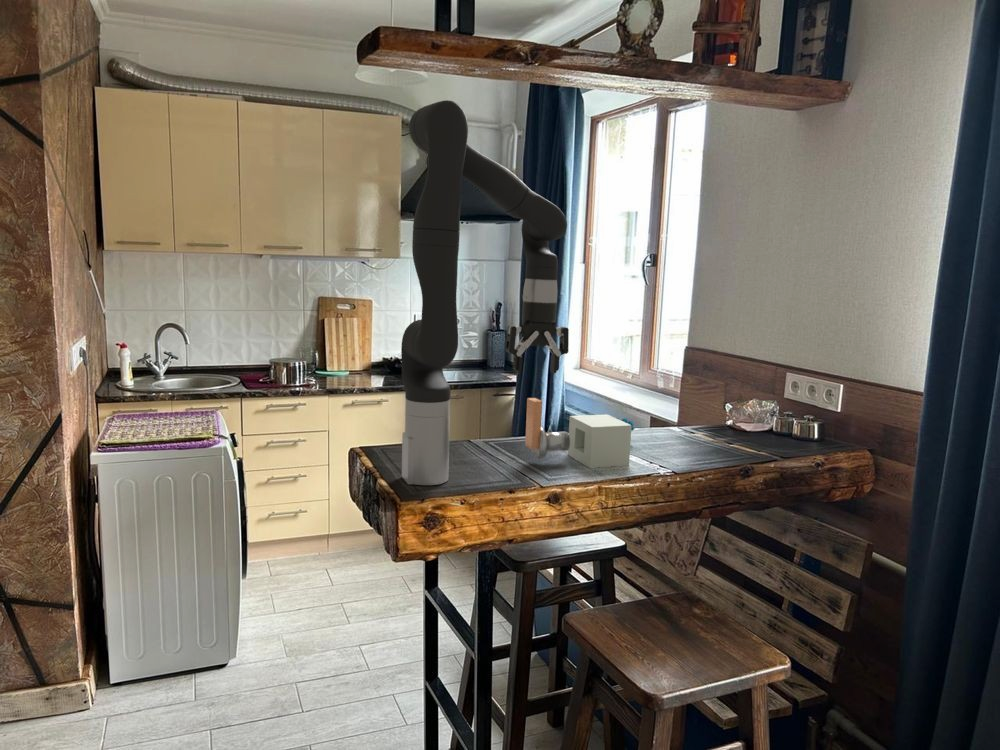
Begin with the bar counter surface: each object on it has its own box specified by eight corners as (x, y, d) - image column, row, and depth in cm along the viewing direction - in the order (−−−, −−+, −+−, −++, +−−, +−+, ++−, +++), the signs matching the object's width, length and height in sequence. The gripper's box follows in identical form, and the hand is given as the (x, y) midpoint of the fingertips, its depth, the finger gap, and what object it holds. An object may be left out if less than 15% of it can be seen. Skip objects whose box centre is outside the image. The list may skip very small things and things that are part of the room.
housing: (590, 468, 168) (592, 427, 166) (567, 454, 179) (569, 415, 177) (629, 465, 171) (631, 425, 169) (604, 452, 182) (607, 414, 181)
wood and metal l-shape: (534, 463, 165) (536, 403, 163) (521, 455, 172) (524, 396, 170) (572, 461, 168) (575, 401, 166) (558, 452, 175) (561, 395, 173)
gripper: (515, 300, 158) (512, 375, 160) (576, 302, 162) (571, 375, 165) (503, 298, 165) (500, 370, 167) (562, 300, 169) (558, 370, 172)
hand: (535, 372), depth 166 cm, fingers open, 8 cm apart
